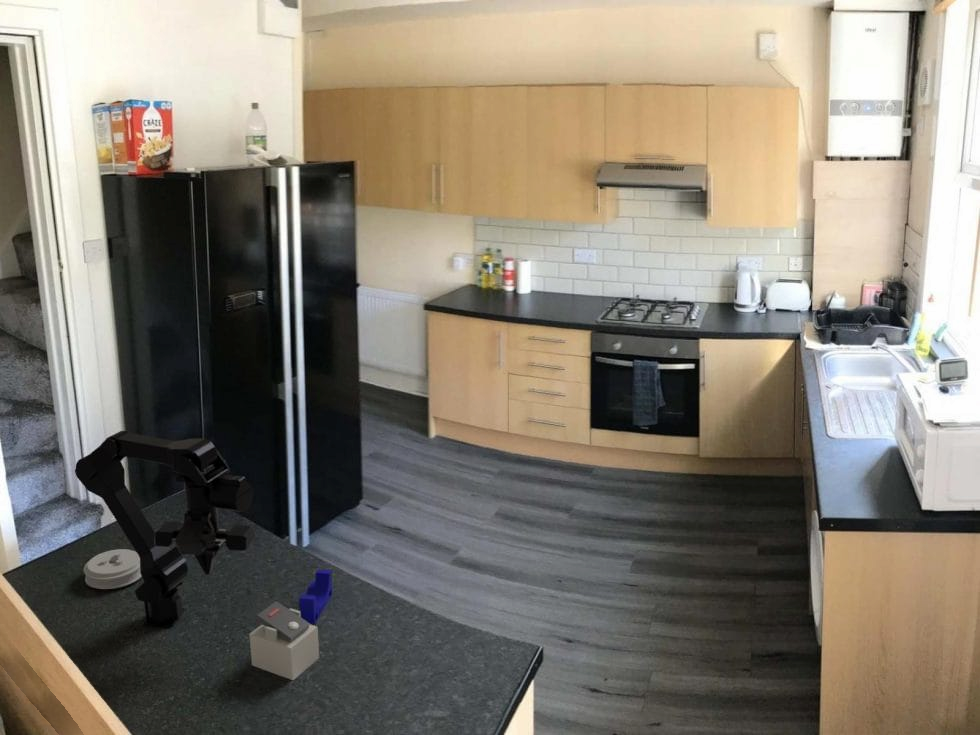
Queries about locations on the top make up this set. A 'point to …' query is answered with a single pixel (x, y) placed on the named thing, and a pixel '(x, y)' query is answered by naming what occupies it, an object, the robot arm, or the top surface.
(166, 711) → the top surface
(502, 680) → the top surface
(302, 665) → the switch box
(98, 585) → the lid
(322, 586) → the blue notched block
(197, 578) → the top surface
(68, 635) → the top surface
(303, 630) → the rocker
